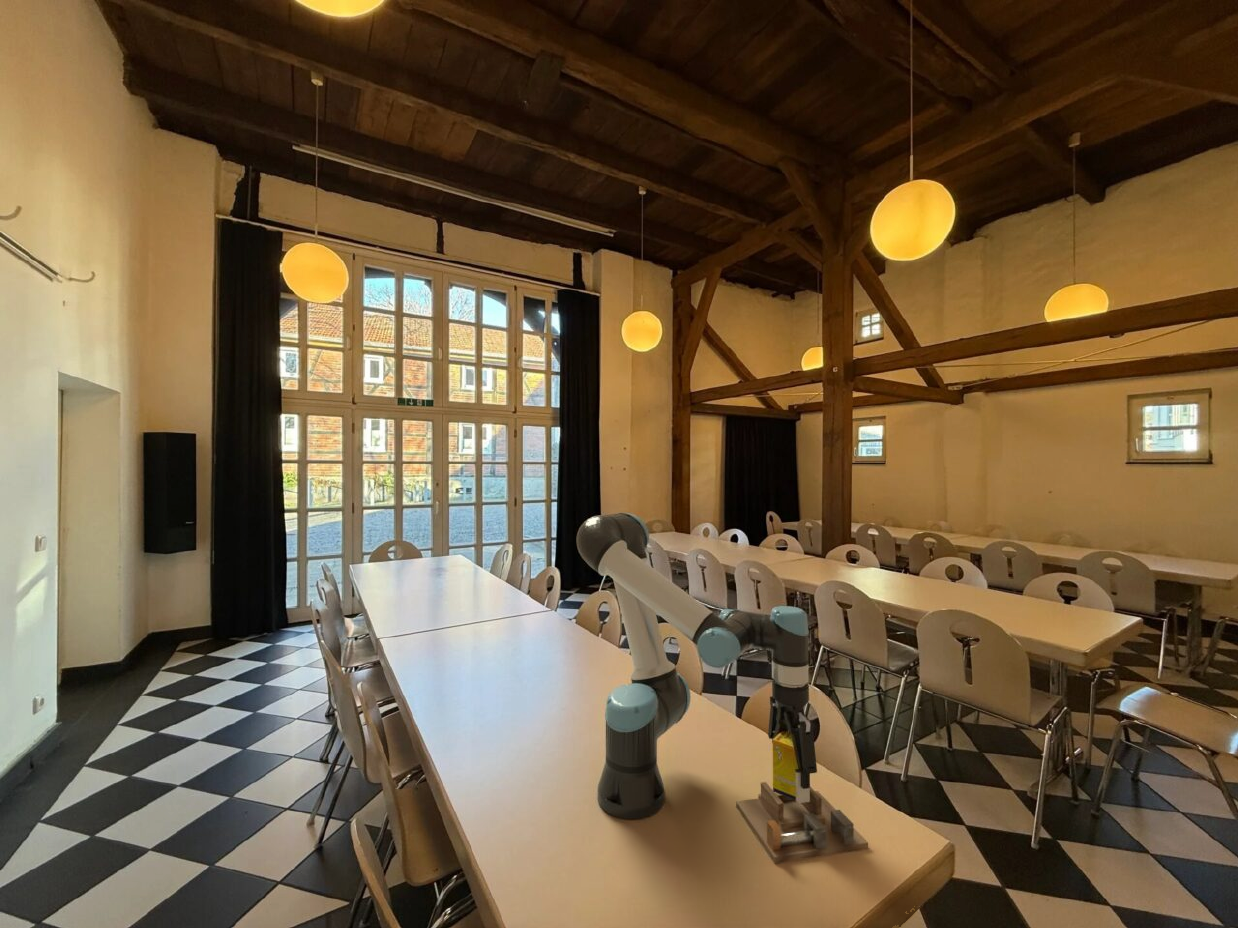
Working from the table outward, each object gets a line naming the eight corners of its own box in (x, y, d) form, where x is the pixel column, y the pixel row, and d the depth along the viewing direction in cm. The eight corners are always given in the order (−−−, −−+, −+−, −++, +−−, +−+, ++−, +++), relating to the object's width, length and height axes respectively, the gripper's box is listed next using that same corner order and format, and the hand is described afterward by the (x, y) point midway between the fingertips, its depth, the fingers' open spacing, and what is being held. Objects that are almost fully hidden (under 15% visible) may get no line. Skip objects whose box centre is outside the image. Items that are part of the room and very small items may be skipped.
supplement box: (782, 778, 114) (782, 728, 114) (810, 789, 110) (809, 737, 111) (771, 791, 109) (771, 738, 110) (799, 802, 106) (799, 748, 106)
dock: (774, 863, 96) (774, 832, 97) (735, 806, 113) (736, 780, 113) (868, 848, 100) (868, 819, 101) (817, 795, 117) (817, 770, 117)
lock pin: (773, 850, 98) (773, 829, 98) (766, 841, 100) (766, 821, 100) (827, 842, 100) (827, 821, 100) (820, 833, 102) (820, 813, 103)
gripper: (835, 699, 101) (837, 817, 100) (781, 662, 122) (782, 760, 121) (801, 703, 99) (802, 822, 99) (751, 665, 120) (752, 764, 119)
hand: (791, 788), depth 110 cm, fingers open, 8 cm apart
